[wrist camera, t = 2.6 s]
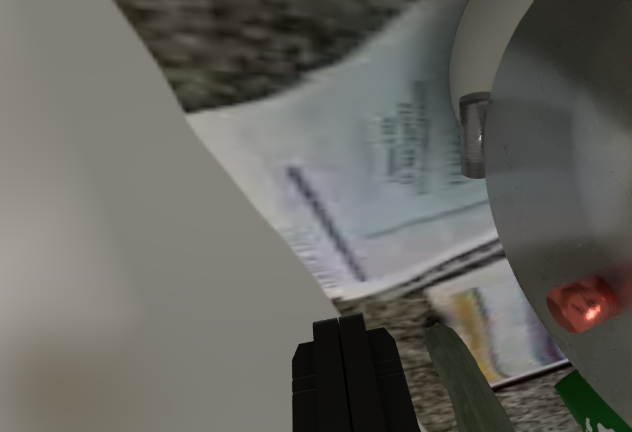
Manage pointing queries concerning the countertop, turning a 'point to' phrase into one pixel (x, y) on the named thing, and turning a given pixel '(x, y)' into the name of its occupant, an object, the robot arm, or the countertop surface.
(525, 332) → the countertop surface
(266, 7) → the countertop surface
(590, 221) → the cooker lid
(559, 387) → the milk carton
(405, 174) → the countertop surface
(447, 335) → the vegetable
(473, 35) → the cooker pot
